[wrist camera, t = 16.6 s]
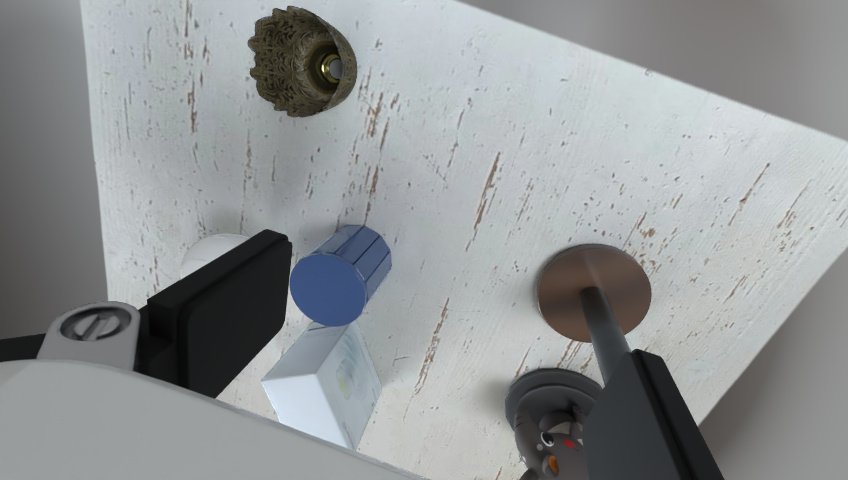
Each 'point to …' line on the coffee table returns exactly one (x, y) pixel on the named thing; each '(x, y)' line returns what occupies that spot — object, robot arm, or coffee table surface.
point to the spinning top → (208, 251)
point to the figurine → (551, 422)
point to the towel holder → (595, 299)
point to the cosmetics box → (325, 384)
